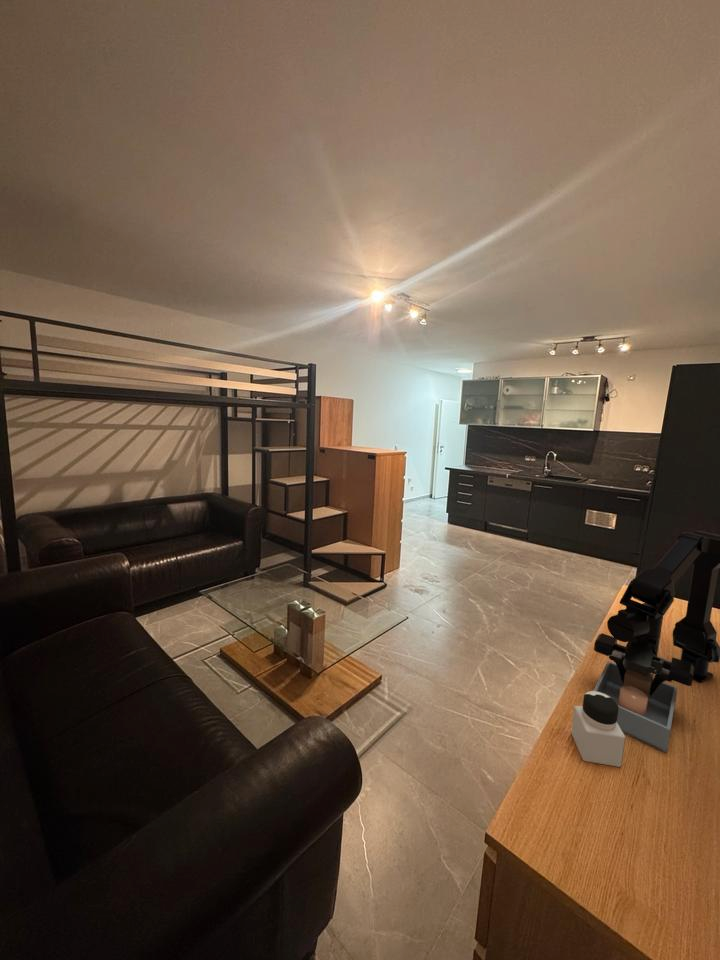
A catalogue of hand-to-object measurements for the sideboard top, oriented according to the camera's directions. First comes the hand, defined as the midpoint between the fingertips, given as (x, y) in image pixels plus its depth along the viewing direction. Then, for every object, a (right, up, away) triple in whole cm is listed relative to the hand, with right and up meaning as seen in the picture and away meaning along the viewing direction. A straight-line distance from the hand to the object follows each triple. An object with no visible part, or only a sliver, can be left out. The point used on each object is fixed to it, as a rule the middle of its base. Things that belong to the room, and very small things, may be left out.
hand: (637, 688), depth 92 cm
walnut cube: (0, -1, 0) cm, 1 cm away
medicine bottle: (-18, -6, -13) cm, 23 cm away
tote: (-3, -4, -3) cm, 6 cm away
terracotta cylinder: (-6, -4, -6) cm, 9 cm away
